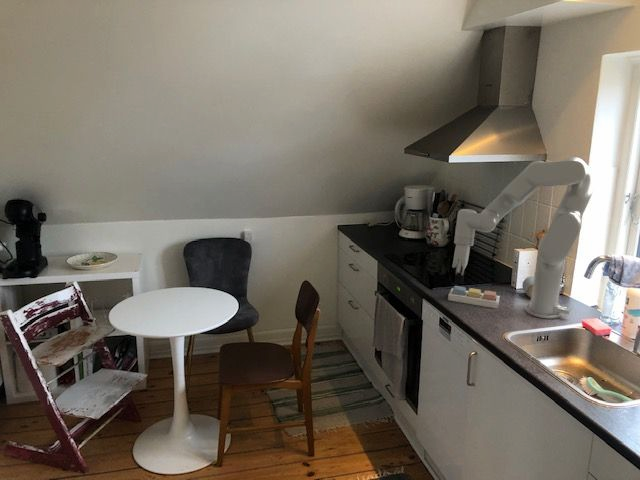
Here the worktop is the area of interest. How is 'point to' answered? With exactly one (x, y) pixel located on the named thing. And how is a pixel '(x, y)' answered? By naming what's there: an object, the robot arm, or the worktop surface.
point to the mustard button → (474, 293)
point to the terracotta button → (489, 295)
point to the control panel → (474, 299)
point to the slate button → (459, 290)
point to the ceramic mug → (528, 285)
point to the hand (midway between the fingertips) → (458, 283)
